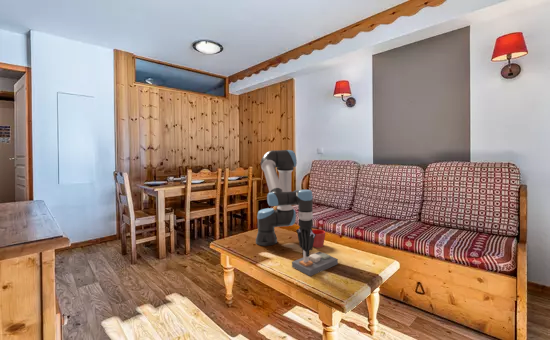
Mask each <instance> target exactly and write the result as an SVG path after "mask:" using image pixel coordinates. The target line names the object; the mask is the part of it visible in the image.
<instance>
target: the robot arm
mask: <svg viewBox="0 0 550 340" xmlns="http://www.w3.org/2000/svg"><path fill="white" fill-rule="evenodd" d="M297 162H298V161H297V156H296V153H295V152H294V150H291V149H281V150H278V149H277V150H276V149H275V150H269V151H267V152H265V153H264V155H262V158H261V159H260V168H261V170H262V171H263V173H264V177H265V181H266V185H267V188H268V193H267V194H266V201H267V204H268V206H269V207H270V208H269V207H267V208H262V209H260V210H258V212H257V234H256V237H255V244H256V245H257V246H265V247H267V246H274V245H276V244H277V243H278V236H277V235H276V232H275V228H279V227H280V228H281V227H289V226H290V227H291V226H293V225H295V223H296V219H297V215H296V213H297V212H296V210H295V209H294V206H296V205H297V206H298V207H297V208H298V227H299V228H298V229H297V228H296V230H295V232H296V234H297V238H298V239H297V240H298V244H299V248H301V250H302V255H303V256H302V258H303V262H305V263H306V262H309V255H310V251H312V250H313V248H314V247H313V243H314V238H315V236H316V234H314V233H313V232H312V230H313V229H312V227H313V226H314V221H313V220H314V219H313V217H314V216H313V215H314V214H313V205H314V204H313V201H314V199H313V191H312V190H311V189H299V190H298V189H296V190H294V191H292V172H293V171H294V168H295V167H297V164H298V163H297ZM277 171H278V173H277ZM273 207H276V210H275V209H274V208H273Z"/></svg>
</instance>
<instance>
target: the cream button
mask: <svg viewBox="0 0 550 340" xmlns="http://www.w3.org/2000/svg"><path fill="white" fill-rule="evenodd" d="M309 258H310V261H312V262H314V263H316V262H319V261H320V258H322V256H320V255H318V254H314V253H312V254H309Z"/></svg>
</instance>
